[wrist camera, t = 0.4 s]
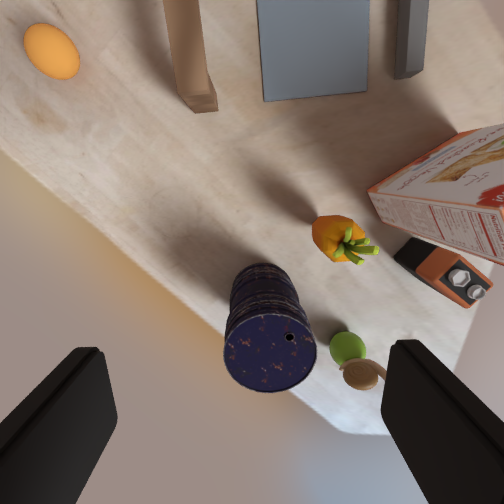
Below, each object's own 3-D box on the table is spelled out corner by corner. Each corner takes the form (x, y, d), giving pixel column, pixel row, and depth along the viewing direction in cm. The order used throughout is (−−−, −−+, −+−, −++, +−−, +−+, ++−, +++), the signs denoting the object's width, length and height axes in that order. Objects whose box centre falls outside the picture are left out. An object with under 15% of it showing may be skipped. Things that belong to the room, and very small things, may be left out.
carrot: (296, 234, 38) (325, 270, 24) (308, 202, 37) (348, 219, 22) (326, 244, 38) (373, 286, 24) (340, 213, 37) (398, 237, 23)
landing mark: (255, -27, 29) (255, -29, 29) (370, -40, 29) (370, -41, 29) (264, 101, 33) (264, 101, 33) (366, 91, 33) (366, 90, 32)
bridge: (195, 113, 33) (177, 93, 25) (175, -24, 29) (146, -103, 21) (218, 111, 33) (208, 89, 25) (201, -27, 29) (183, -108, 21)
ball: (41, 40, 31) (2, 15, 26) (82, 35, 31) (51, 9, 26) (54, 87, 32) (20, 72, 27) (93, 83, 32) (66, 67, 27)
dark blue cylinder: (264, 330, 43) (272, 408, 28) (218, 294, 41) (202, 359, 26) (306, 288, 41) (338, 351, 26) (260, 249, 39) (268, 293, 24)
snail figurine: (365, 347, 44) (406, 409, 32) (327, 355, 44) (356, 419, 33) (361, 320, 42) (403, 374, 31) (323, 328, 43) (350, 385, 31)
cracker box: (457, 129, 34) (754, 65, 14) (472, 169, 36) (759, 163, 16) (362, 188, 36) (504, 205, 16) (380, 223, 38) (529, 279, 18)
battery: (411, 235, 38) (466, 255, 29) (442, 260, 40) (504, 288, 30) (390, 257, 39) (436, 284, 30) (421, 281, 41) (474, 315, 31)
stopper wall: (400, -32, 29) (414, -51, 27) (418, -34, 29) (433, -53, 27) (394, 79, 32) (406, 71, 30) (410, 77, 32) (423, 70, 30)
